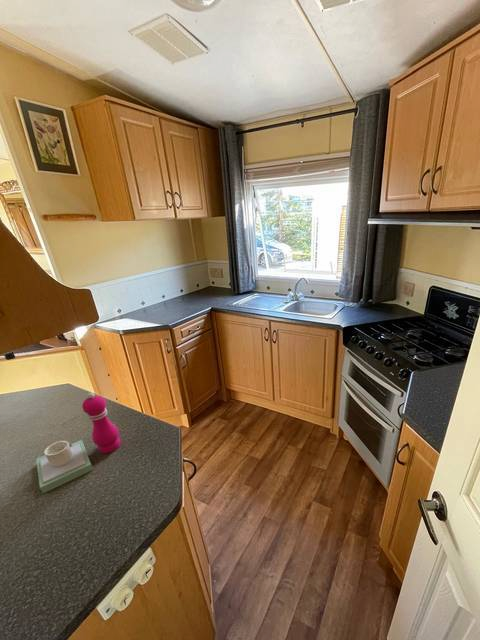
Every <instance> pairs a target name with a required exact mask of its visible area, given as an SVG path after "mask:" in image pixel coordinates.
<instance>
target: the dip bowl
mask: <svg viewBox="0 0 480 640" xmlns="http://www.w3.org/2000/svg"><path fill="white" fill-rule="evenodd" d="M43 455H45V456H46V458H47V460H48V462H49V464H50V465H51V466H54V467H58V466H62V465H64V464H66V463H68V462H69V461H70V460H71V459H72V457H73V451H72V449H71V447H70V442H68V441H67V440H59V441H56V442H53V443H52V444H50V445H48V446H47V447H46V448H45V450H44V452H43Z"/></svg>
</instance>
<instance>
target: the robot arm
mask: <svg viewBox="0 0 480 640" xmlns="http://www.w3.org/2000/svg"><path fill="white" fill-rule="evenodd" d="M3 357H4V358H5V360H7V361H10V360H14V359H15V358H16V354H15V352H14V351H13V352H12V353H9V354H6V355H4V354H3Z"/></svg>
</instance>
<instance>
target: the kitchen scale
mask: <svg viewBox="0 0 480 640" xmlns="http://www.w3.org/2000/svg"><path fill="white" fill-rule="evenodd" d="M69 445H70V447H71V449H72V451H73V457H72V459H71V460H70V461H69V462H68V463H66V464H64V465H62V466H58V467H54V466H51V465H50V464H49V462H48V460H47V458H46V456H45V454H43V455H42V456H39V457H37V458H35V462H36V469H37V477H38V484H39V489H40V491H41V492H42V494H45V493H48V492H49V491H52V490H53V489H56V488H58V487H60V486H62V485H64V484H67V483H69V482H71V481H72V480H75V479H77V478H79V477H81V476H83V475H85V474H87V473H89V472H92V471H94V468H93V465H92V463H91V460H90V457H89V455H88V452H87V449H86V447H85V444H84V441H83V439H81V440H78V441H75V442H73V443H69Z"/></svg>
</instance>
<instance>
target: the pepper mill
mask: <svg viewBox="0 0 480 640" xmlns="http://www.w3.org/2000/svg"><path fill="white" fill-rule="evenodd" d="M86 397H87V398H86V399H84V400H83V402H82V404H81V405H82V410H83V412H84V413H85V414H87V417H88V419H89V420H90V421H91V422H92V426H93V429H92V434H91V435H92V437H91V439H92V442H93V444H94V445H96V446H97V450H98V452H99V453H100V454H111V453H112V452H115V451H116V450H117V449H118V448H120V446H121V443H122V442H121V439H120V437H119V436H120V431H119V429H118V427H117V426H116V425H115V424H114V423H112V421H110V420H109V418H108V410H107V408H106V407H107V402H106V399H105V398H104V397H103V396H101V395H95V393H93V392H89V393H88V394H87V395H86Z"/></svg>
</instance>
